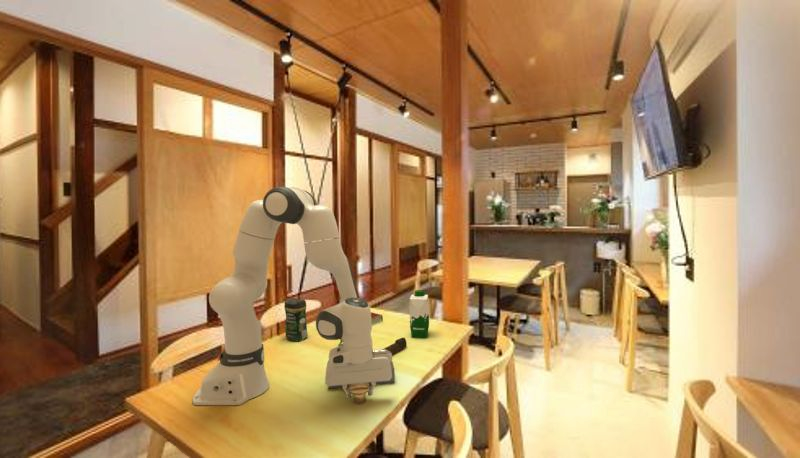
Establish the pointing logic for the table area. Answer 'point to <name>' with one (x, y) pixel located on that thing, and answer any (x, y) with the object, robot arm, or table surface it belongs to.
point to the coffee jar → (295, 319)
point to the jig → (370, 382)
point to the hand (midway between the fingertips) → (359, 395)
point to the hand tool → (397, 346)
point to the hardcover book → (376, 318)
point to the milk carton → (419, 314)
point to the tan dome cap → (359, 392)
